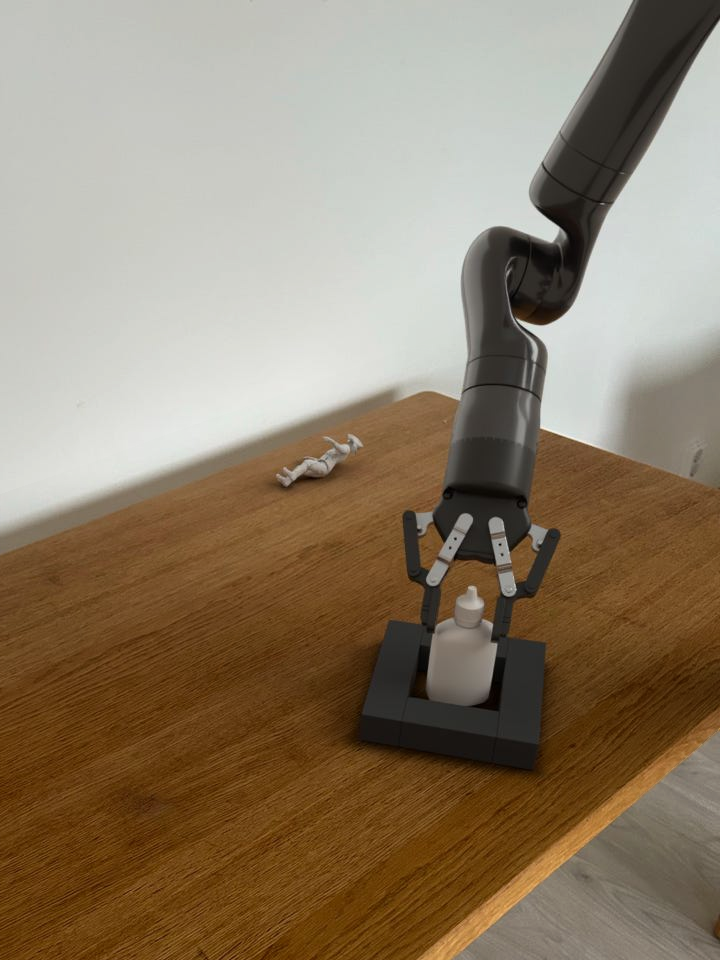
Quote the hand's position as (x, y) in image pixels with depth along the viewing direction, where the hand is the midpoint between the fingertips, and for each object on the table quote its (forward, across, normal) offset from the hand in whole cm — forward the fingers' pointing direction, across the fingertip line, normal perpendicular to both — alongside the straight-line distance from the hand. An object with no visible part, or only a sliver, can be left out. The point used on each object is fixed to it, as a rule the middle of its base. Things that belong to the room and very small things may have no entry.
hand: (462, 636), depth 87 cm
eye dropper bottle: (+5, 0, +7) cm, 9 cm away
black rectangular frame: (+5, 0, +7) cm, 9 cm away
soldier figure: (-24, -22, +37) cm, 50 cm away
